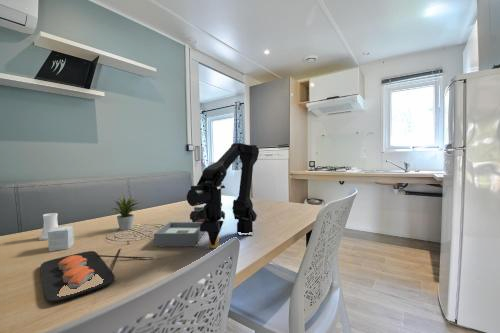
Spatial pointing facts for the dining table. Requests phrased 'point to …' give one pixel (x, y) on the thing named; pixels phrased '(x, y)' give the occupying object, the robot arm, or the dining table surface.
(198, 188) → the robot arm
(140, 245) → the dining table surface
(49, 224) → the salt shaker
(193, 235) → the box
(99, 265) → the sushi plate
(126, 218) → the house plant
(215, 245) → the peg
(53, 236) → the product box
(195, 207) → the lighter
